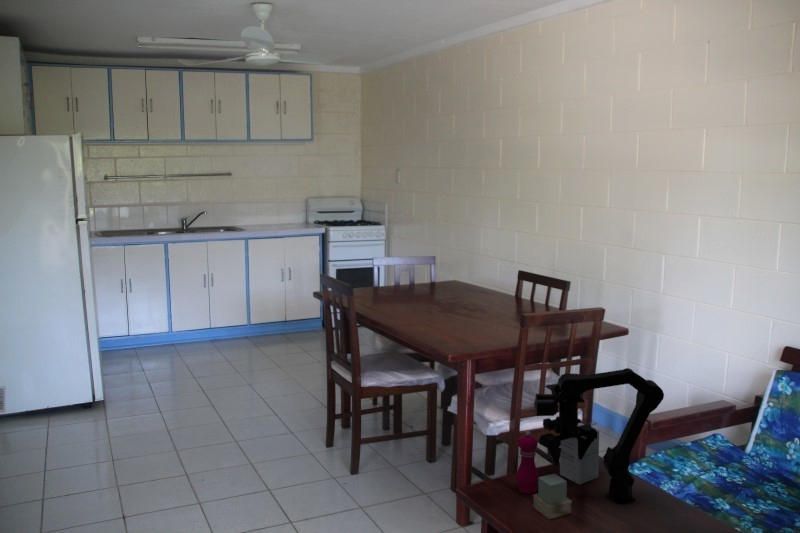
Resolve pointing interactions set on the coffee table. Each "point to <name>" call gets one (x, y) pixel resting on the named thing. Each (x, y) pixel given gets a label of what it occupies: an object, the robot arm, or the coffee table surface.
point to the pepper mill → (527, 464)
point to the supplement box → (579, 468)
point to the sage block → (552, 488)
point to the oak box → (552, 507)
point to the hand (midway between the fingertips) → (568, 462)
